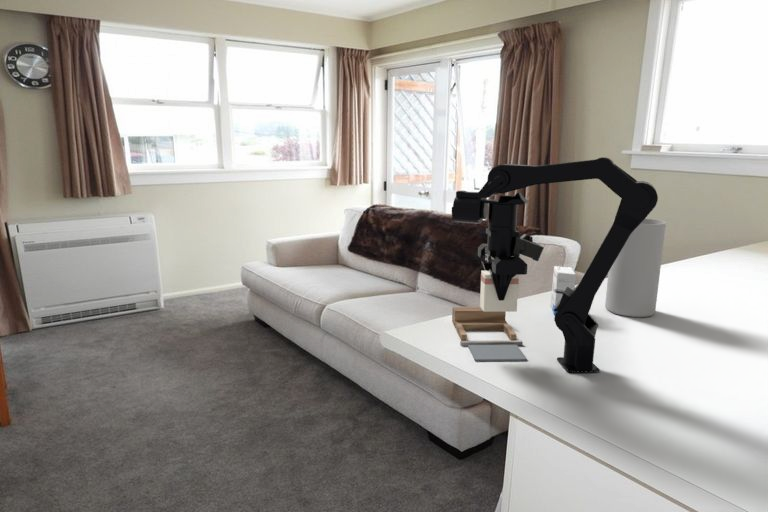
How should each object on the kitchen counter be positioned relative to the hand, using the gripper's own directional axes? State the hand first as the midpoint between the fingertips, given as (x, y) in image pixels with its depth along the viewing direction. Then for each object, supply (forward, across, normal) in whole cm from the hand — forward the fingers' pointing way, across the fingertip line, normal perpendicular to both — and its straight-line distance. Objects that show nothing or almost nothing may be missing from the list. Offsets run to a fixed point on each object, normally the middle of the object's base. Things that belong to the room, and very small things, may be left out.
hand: (498, 297), depth 109 cm
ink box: (+13, +28, -25) cm, 40 cm away
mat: (+12, -1, 0) cm, 12 cm away
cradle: (+12, +12, 0) cm, 17 cm away
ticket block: (+2, 0, 0) cm, 2 cm away
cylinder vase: (+13, +28, -44) cm, 54 cm away
